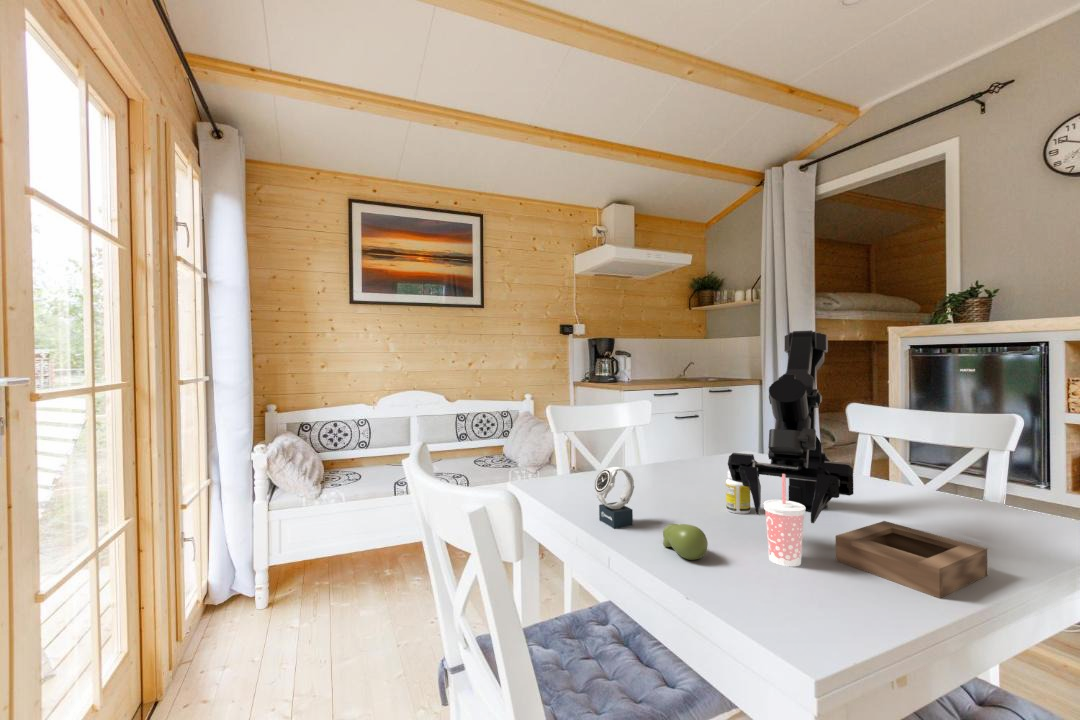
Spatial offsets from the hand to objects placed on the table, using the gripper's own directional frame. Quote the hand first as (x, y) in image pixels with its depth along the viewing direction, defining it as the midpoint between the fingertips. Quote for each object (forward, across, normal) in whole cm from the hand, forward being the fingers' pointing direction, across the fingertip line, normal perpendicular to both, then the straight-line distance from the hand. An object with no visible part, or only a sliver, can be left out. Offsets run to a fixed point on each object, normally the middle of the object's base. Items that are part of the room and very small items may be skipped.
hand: (784, 517), depth 78 cm
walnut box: (0, +16, +10) cm, 19 cm away
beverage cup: (+5, 0, +5) cm, 7 cm away
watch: (+3, -31, +7) cm, 32 cm away
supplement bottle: (-11, -12, +21) cm, 27 cm away
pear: (+9, -15, +2) cm, 17 cm away
